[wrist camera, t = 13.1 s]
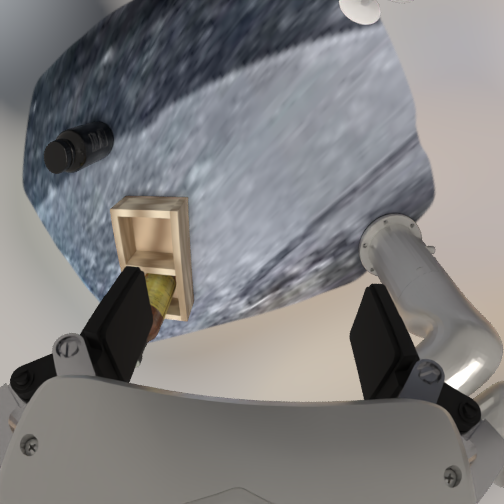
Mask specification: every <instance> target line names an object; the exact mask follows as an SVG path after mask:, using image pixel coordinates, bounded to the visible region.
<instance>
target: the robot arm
mask: <svg viewBox="0 0 504 504" xmlns="http://www.w3.org/2000/svg"><path fill="white" fill-rule="evenodd" d="M434 253H435V247H433V246H426V245H425V243H424V242H423V241H422V236H421V232H420V229H419V227H418V225H417V224H416V223H415V222H414V221H413V220H412V219H411V218H409V217H408V216H406V215H403V214H397V213H396V214H388V215H384V216H382V217H380V218H378V219H377V220H375V221H374V222H373V223H372V224H371V225H370V226H369V227H368V228H367V229H366V230H365V232H364V233H363V235H362V237H361V240H360V244H359V257H360V260H361V262H362V264H363V266H364V267H365V269H366V270H367V271H368V272H370V273H371V274H373V275H375V276H378V277H379V279H380V281H381V282H382V284H371V285H370V287H367V288H366V289H365V292H364V295H363V298H362V301H361V304H360V307H359V309H358V312H357V315H356V318H355V320H354V323H353V326H352V328H351V331H350V342H351V346H352V350H353V354H354V358H355V362H356V366H357V370H358V374H359V379H360V383H361V388H362V392H363V396H364V400H357V401H333V402H281V401H257V400H244V399H231V398H222V397H212V396H203V395H195V394H188V393H182V392H176V391H169V390H164V389H158V388H153V387H148V386H142V385H137V384H132V383H129V382H130V379H131V377H132V374H133V372H134V369H135V367H136V364H137V361H138V359H139V357H140V354H141V352H142V349H143V347H144V344H145V342H146V339H147V337H148V335H149V332H150V330H151V328H152V325H153V314H152V309H151V305H150V300H149V295H148V290H147V285H146V279H145V274H144V271H141V269H140V267H135V266H126V267H125V268H124V269H123V271H122V272H121V274H120V275H119V277H118V278H117V279H116V281H115V282H114V284H113V285H112V287H111V288H110V290H109V291H108V293H107V294H106V295H105V296H104V298H103V299H102V301H101V302H100V304H99V305H98V307H97V308H96V310H95V311H94V313H93V314H92V316H91V318H90V319H89V321H88V322H87V324H86V326H85V327H84V329H83V330H82V332H81V334H80V335H78V334H76V333H69V334H65V335H63V336H61V337H60V338H58V339H57V340H56V342H55V343H54V345H53V350H52V352H53V353H52V354H50V355H47V356H45V357H42V358H40V359H37V360H35V361H33V362H30V363H28V364H25V365H23V366H21V367H19V368H17V369H16V370H15V371H14V372H13V374H12V376H11V379H10V384H9V385H7V384H6V383H5V384H4V385H3V386H1V387H0V504H477V503H478V502H479V501H480V499H481V498H482V497H483V496H484V494H485V493H486V492H487V490H488V489H489V487H490V486H491V485H492V483H494V484H496V485H498V486H500V487H503V488H504V381H500V382H497V383H495V384H493V385H492V386H490V387H489V388H487V389H486V390H484V391H483V392H482V393H480V394H479V395H478V396H476V397H475V398H473V399H471V398H470V397H468V396H469V395H471V394H472V393H474V392H475V391H476V390H477V389H478V388H480V387H481V386H482V385H483V384H484V383H485V382H486V381H487V380H488V379H489V378H490V377H491V376H492V375H493V374H494V372H495V371H496V369H497V368H498V366H499V364H500V361H501V359H502V354H503V345H502V341H501V339H500V336H499V334H498V333H497V331H496V330H495V328H494V327H493V326H492V324H491V323H490V322H489V321H488V320H487V319H486V318H485V317H484V316H483V315H482V314H481V313H480V312H479V311H478V310H477V309H476V308H475V307H474V306H473V305H472V304H471V302H470V301H469V300H468V299H467V298H466V297H465V296H464V295H463V293H462V292H461V291H460V289H459V288H458V287H457V286H456V284H455V283H454V282H453V280H452V279H451V278H450V277H449V276H448V274H447V273H446V272H445V270H444V269H443V268H442V267H441V265H440V264H439V263H438V261H437V260H436V258H435V257H433V255H432V254H434ZM408 331H409V332H410V333H412V334H414V335H416V336H418V337H421V338H425V339H424V340H423V341H422V342H421V343H419V344H418V345H417V346H416V347H414V344H413V342H412V340H411V337H410V335H409V333H408Z"/></svg>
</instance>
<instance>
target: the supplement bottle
mask: <svg viewBox="0 0 504 504" xmlns="http://www.w3.org/2000/svg"><path fill="white" fill-rule="evenodd" d="M112 145H113V136H112V133H111V130H110V129H109V127H108V126H107V125H106V124H104V123H102V122H92V123H88V124H84V125H81V126H77V127H74V128H70V129H67V130H65V131H63V132H62V133H60V134H59V136H58V137H57V139H56V140H55V141H53V142H50V144H48V146H47V147H46V149H45V151H44V161H45V164H46V167H47V168H48V169H49V171H51V172H52V173H55V174H59V173H62V172H64V171H65V172H68V173H74V172H77V171H79V170H81V169H83V168H85V167H87V166H89V165H91V164H93V163H95V162H97V161H99V160H101V159H103V158H104V157H106V156H107V155H108V154H109V152H110V150H111V148H112Z"/></svg>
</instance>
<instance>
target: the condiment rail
mask: <svg viewBox="0 0 504 504" xmlns="http://www.w3.org/2000/svg"><path fill="white" fill-rule="evenodd" d="M110 213H111V219H112V226H113V231H114V237H115V243H116V248H117V253H118V258H119V263H120V267H121V272H122V271H123V269H124V268H125V267H126V266H135V267H140V269H141V271H144V274H145V275H146V274H147V273H152V274H162V275H172V276H176V289H175V292H174V294H173V297H172V300H171V302H170V305H169V307H168V310H167V313H166V315H165V318H164V319H172V320H180V321H188V318H189V315H190V312H191V309H192V306H193V303H194V294H193V282H192V269H191V254H190V237H189V216H188V197H158V196H125V197H124V198H123V199H122V200H120V201H119V202H118V203H117V204H116V205H114V206H113V207H112V208H111V209H110Z"/></svg>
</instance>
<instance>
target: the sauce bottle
mask: <svg viewBox="0 0 504 504" xmlns="http://www.w3.org/2000/svg"><path fill="white" fill-rule="evenodd" d="M145 279H146V285H147V290H148V295H149V300H150V305H151V309H152V314H153V325H152V328H151V330H150V332H149V335H148V337H147V339H146V342H145V344H144V347H143V349H142V352H141V354H140V357H139V359H138V361H137V364H136V367H138V366H139V365H140V363H141V361H142V354H143V351H144V349H145V347H146V345H147V343H148V342H149V341H151V340H152V339H154V338H155V337H156V336H157V334H158V332H159V330H160V327H161V324H162V323H163V321H164V318H165V315H166V313H167V310H168V307H169V305H170V302H171V300H172V297H173V294H174V292H175V289H176V276H172V275H162V274H152V273H147V274H146V275H145Z"/></svg>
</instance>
